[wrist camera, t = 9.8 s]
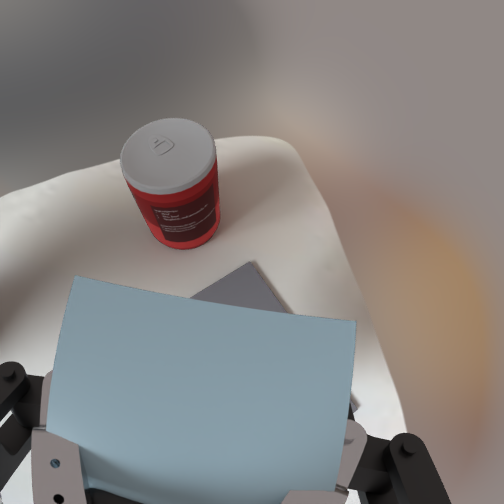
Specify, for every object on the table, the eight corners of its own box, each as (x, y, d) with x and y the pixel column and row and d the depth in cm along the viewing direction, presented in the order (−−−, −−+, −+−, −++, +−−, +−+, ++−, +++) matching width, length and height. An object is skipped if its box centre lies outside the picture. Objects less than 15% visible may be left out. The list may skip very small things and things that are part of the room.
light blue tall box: (267, 467, 13) (311, 571, 3) (147, 446, 13) (46, 513, 3) (283, 355, 15) (356, 320, 6) (165, 336, 15) (75, 275, 6)
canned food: (175, 179, 34) (159, 107, 24) (234, 208, 32) (235, 135, 22) (135, 230, 31) (99, 166, 21) (195, 265, 30) (177, 206, 19)
